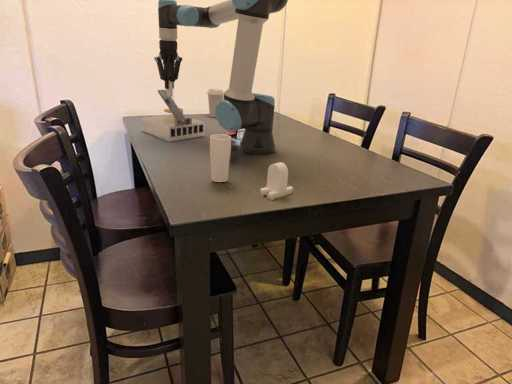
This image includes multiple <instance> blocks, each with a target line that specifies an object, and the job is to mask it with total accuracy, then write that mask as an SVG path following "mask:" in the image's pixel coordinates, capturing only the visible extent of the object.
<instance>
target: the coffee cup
mask: <svg viewBox="0 0 512 384" xmlns="http://www.w3.org/2000/svg"><path fill="white" fill-rule="evenodd" d="M224 92H225V91H224V90H223V89H219V88H209V89H208V90H207V93H206V94H207V97H208V98H207V99H208V110H209V111H208V112H209V113H208V115H209V117H210V118H213V117H216V114H215V109H216V105H217V103H219V102H220V101H221V100H223V97H224Z"/></svg>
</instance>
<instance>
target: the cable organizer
mask: <svg viewBox="0 0 512 384" xmlns="http://www.w3.org/2000/svg"><path fill="white" fill-rule="evenodd" d="M288 179H289V169H288V166H287V164H286V163H284V162H281V161H280V162H276V163H272V164H270V165H269V166H268V168H267V177H266V186H265V187H261V188H260V192H261V193H266V192H269V193H268V195H267V197H268V196H270V197H273V196H276V195H279V194H283V193H285V192H288V191H291V190H293V191H294V187H293V186H291V185H289V186H288V181H289V180H288ZM260 192H259V193H260Z"/></svg>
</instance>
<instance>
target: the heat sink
mask: <svg viewBox="0 0 512 384" xmlns="http://www.w3.org/2000/svg"><path fill="white" fill-rule="evenodd" d="M184 117H185V118H186V120H188V124H183V125H180V120H179V119H176V118H175V117H174V115H173V114H172V113H170V114H163V115H154V116H147V117H146V116H145V117H141V118H142V132H144V133H146V134H149V135H151V136H154V137H156V138H159V139H161V140H163V141H167V142H169V143H171V142H177V141H183V140H184V141H185V140H188V139H195V138H200V137H204V136H205V121H202V120H199V119H195V118H193V117H188V116H185V115H184Z"/></svg>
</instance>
